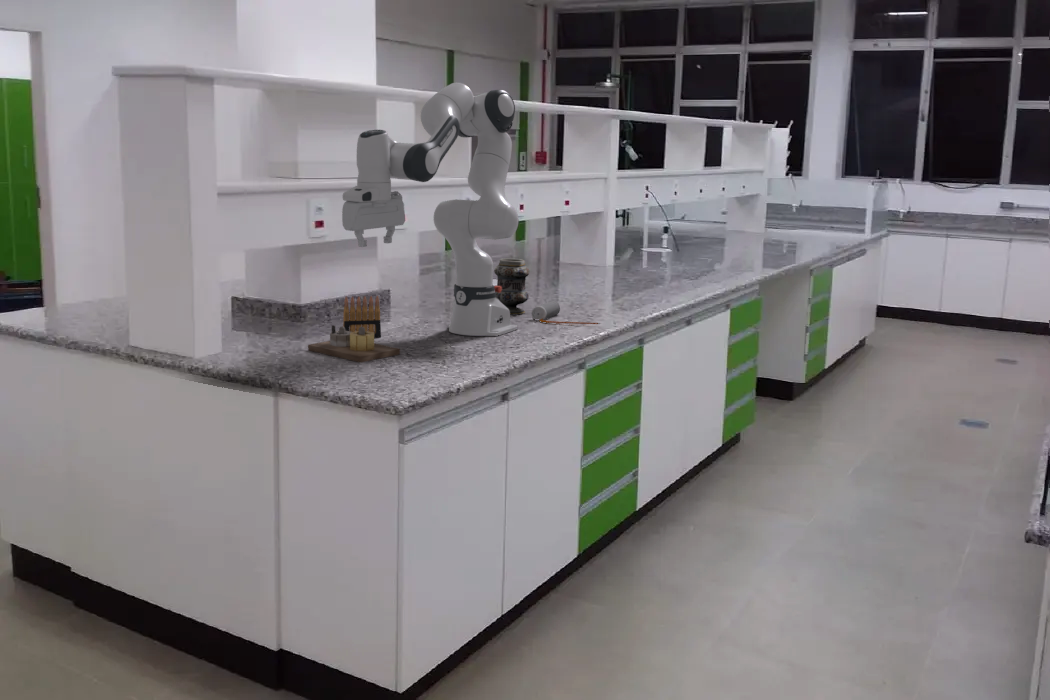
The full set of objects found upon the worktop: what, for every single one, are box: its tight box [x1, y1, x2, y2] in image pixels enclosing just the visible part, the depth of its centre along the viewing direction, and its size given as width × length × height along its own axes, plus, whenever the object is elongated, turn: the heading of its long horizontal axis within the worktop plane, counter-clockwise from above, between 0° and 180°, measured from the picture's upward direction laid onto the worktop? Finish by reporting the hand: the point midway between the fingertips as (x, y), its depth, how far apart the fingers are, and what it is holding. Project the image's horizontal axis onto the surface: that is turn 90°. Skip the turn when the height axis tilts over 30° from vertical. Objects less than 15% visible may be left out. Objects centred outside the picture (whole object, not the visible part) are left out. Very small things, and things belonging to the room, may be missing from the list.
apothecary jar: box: [493, 257, 530, 315], centre depth 316 cm, size 12×12×18 cm
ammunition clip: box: [342, 295, 382, 339], centre depth 266 cm, size 11×2×12 cm, turn 110°
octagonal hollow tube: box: [350, 331, 375, 351], centre depth 246 cm, size 6×6×4 cm
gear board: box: [307, 325, 401, 363], centre depth 248 cm, size 14×20×7 cm
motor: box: [531, 300, 601, 325], centre depth 308 cm, size 23×22×5 cm
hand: (375, 244), depth 252 cm, fingers open, 8 cm apart
